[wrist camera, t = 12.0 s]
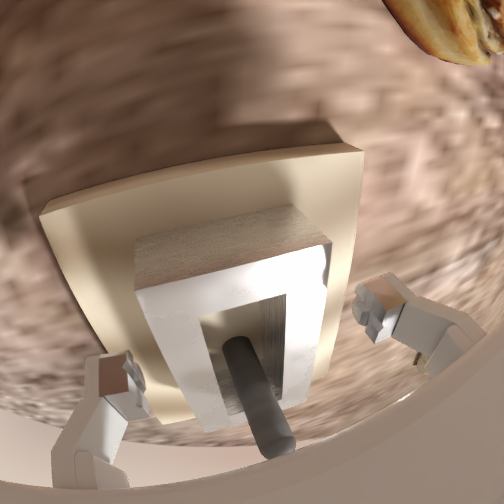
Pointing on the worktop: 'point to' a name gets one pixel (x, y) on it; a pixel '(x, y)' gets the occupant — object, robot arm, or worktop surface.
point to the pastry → (453, 28)
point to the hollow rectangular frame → (236, 301)
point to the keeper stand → (194, 212)
